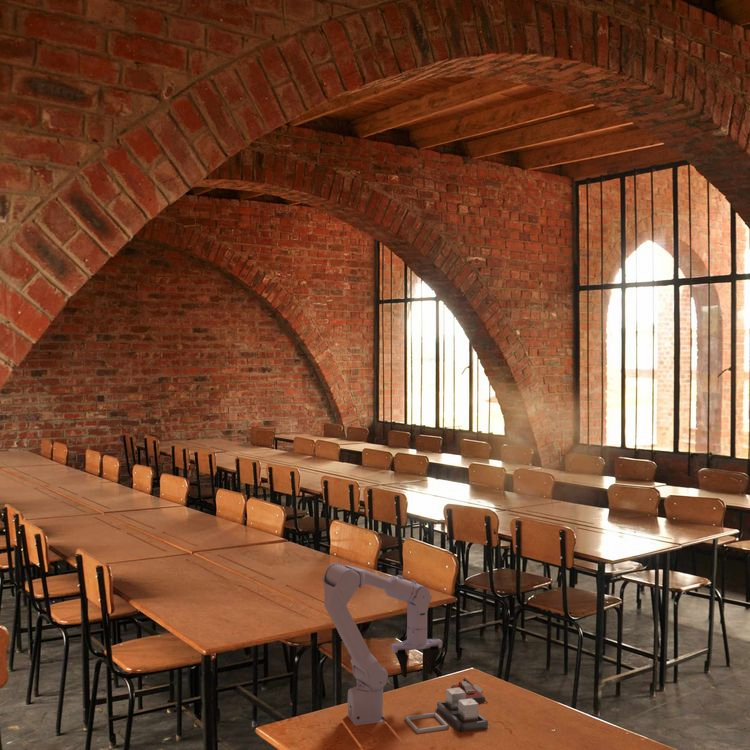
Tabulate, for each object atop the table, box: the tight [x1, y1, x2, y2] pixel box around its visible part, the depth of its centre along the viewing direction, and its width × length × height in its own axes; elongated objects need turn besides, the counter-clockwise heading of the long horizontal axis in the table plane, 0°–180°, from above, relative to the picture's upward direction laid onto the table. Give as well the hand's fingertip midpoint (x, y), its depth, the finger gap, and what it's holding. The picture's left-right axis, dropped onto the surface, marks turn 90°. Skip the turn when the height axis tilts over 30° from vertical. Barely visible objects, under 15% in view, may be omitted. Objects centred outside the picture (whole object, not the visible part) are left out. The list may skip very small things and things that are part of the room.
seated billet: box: [445, 687, 466, 712], centre depth 229 cm, size 4×4×6 cm
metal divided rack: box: [434, 700, 490, 733], centre depth 225 cm, size 9×16×3 cm, turn 19°
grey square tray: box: [404, 711, 450, 734], centre depth 222 cm, size 9×9×2 cm
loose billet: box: [458, 698, 479, 724], centre depth 222 cm, size 4×4×6 cm
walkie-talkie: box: [450, 677, 489, 705], centre depth 245 cm, size 9×4×20 cm
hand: (416, 674), depth 235 cm, fingers open, 7 cm apart
